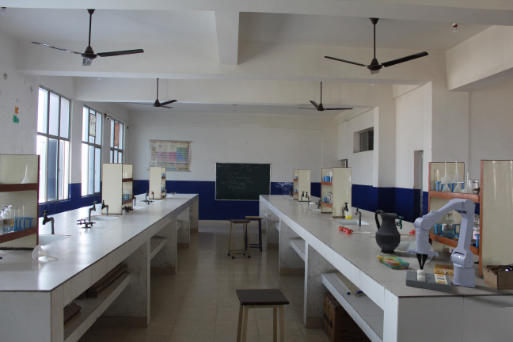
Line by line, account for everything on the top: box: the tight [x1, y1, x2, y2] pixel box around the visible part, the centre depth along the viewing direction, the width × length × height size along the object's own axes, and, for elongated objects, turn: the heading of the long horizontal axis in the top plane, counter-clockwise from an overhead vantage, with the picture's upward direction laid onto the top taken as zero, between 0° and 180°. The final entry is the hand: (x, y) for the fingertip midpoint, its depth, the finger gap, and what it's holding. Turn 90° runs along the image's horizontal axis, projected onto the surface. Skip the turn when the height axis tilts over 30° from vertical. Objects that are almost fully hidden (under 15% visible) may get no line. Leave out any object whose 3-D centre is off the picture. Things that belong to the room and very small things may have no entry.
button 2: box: [417, 275, 426, 282], centre depth 177 cm, size 4×4×4 cm
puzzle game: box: [375, 254, 411, 269], centre depth 220 cm, size 12×5×20 cm
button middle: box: [416, 269, 427, 276], centre depth 183 cm, size 4×4×4 cm
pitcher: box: [374, 209, 401, 255], centre depth 259 cm, size 17×21×30 cm
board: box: [405, 270, 452, 293], centre depth 182 cm, size 20×20×4 cm
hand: (421, 269), depth 177 cm, fingers closed
